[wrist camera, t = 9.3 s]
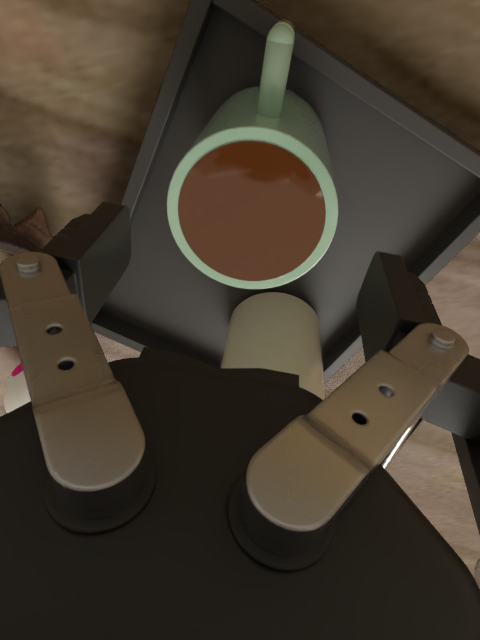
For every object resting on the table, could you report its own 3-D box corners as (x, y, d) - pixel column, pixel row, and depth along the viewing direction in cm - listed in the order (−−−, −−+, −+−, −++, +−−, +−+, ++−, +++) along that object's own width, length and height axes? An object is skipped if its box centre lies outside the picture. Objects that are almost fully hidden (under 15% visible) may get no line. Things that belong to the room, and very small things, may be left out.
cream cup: (210, 317, 29) (186, 406, 22) (289, 275, 26) (286, 365, 20) (280, 393, 33) (276, 487, 27) (354, 364, 30) (369, 462, 24)
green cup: (309, 220, 23) (314, 302, 17) (200, 201, 23) (164, 276, 17) (359, 29, 18) (392, 47, 12) (214, 4, 18) (169, 8, 12)
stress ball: (72, 309, 36) (-6, 325, 30) (122, 383, 34) (49, 414, 28) (41, 358, 39) (-33, 379, 34) (85, 426, 38) (14, 461, 32)
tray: (91, 305, 31) (78, 325, 29) (211, -30, 18) (201, -33, 16) (290, 395, 34) (290, 417, 33) (508, 171, 22) (526, 186, 20)
